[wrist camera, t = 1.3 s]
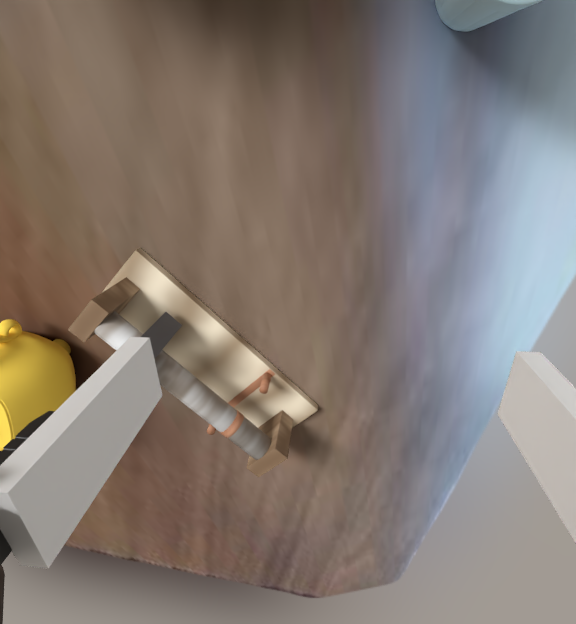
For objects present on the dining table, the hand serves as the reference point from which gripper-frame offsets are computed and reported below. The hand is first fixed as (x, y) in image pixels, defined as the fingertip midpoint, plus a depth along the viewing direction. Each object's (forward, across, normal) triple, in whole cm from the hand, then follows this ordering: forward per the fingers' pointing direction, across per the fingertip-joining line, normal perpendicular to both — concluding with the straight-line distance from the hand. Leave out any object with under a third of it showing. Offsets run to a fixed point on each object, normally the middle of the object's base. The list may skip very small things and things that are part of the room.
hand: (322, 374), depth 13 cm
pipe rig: (+26, -15, -17) cm, 34 cm away
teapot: (+26, -39, -20) cm, 51 cm away
